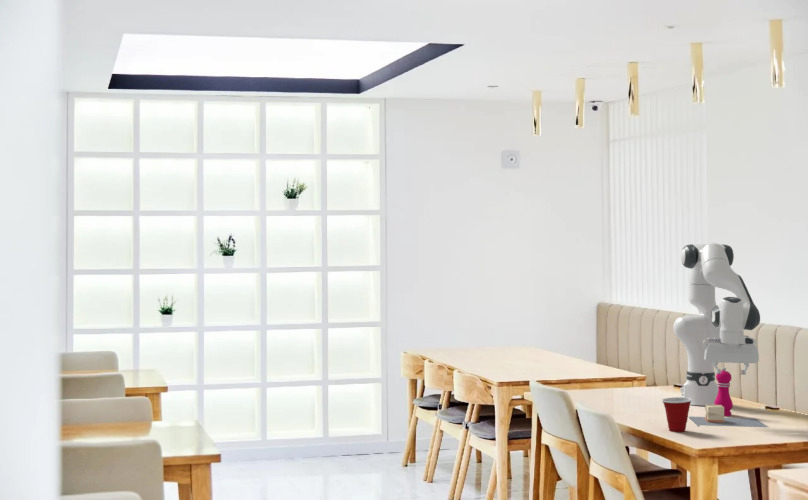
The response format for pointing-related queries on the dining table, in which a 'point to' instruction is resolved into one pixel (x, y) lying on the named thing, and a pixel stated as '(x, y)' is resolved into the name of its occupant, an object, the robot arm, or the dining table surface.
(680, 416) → the plastic cup
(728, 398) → the pepper mill
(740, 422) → the slate mat
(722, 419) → the maple cube
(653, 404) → the dining table surface
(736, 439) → the dining table surface
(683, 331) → the robot arm
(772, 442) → the dining table surface
